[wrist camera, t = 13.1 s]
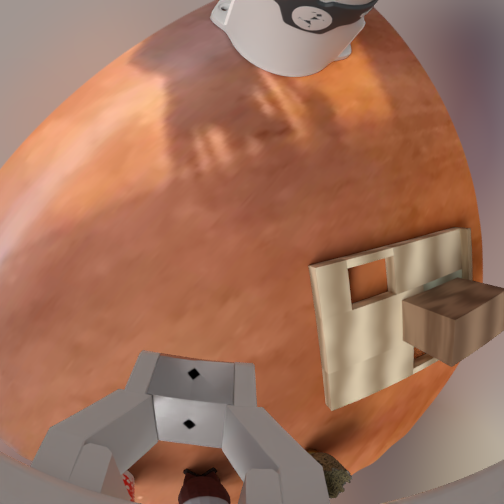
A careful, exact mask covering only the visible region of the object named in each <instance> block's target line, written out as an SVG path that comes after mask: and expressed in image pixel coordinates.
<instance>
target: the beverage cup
mask: <svg viewBox="0 0 504 504" xmlns="http://www.w3.org/2000/svg"><path fill="white" fill-rule="evenodd" d="M121 477H122V479H123V481H124V484H125V486H126V488H127V491H128V493H129V495H130V497H131V500H130V501H132V502H134V477H133V475H132V474H131V473H130V472H129V471H127V470H126V471H125V472H124V473H123V474H122V475H121Z"/></svg>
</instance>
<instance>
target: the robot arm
mask: <svg viewBox="0 0 504 504" xmlns="http://www.w3.org/2000/svg"><path fill="white" fill-rule="evenodd" d="M377 1H378V0H219V2H218V3H217V5H216V6H215V8H214V9H213V11H212V13H211V16H210V18H211V20H212V22H213V23H214V24H216V25H217V26H218V27H220V28H221V29H222V30H224V31H225V32H226V33H227V35H228V36H229V38H230V40H231V42H232V44H233V45H234V47H235V48H236V49H237V51H238V52H239V53H240V54H241V55H242V56H243V57H244V58H245V59H247V60H248V61H249V62H251V63H252V64H254V65H255V66H257V67H259V68H261V69H263V70H266V71H268V72H271V73H274V74H278V75H282V76H289V77H301V76H308V75H311V74H314V73H317V72H319V71H320V70H322V69H323V68H325V67H326V66H327V65H328V64H329V63H331V62H333V61H337V60H342V59H346V58H347V57H348V56H349V55H350V54H351V45H350V43H351V42H352V40H353V39H354V38H355V37H356V36H357V35H358V33H359V32H360V31H361V30H362V29H363V28H364V26H365V23H366V22H365V21H364V15H366V14H367V13H368V12H369V11H370V10H371V9H372V8H373V7H374V5H375V3H376V2H377ZM222 9H225V10H227V11H223V10H222ZM158 440H162V441H169V442H176V443H185V444H193V445H200V446H207V447H215V448H222V450H223V452H224V454H225V455H226V457H227V458H228V460H229V461H230V463H231V464H232V466H233V467H234V469H235V470H236V472H237V473H238V475H239V476H240V478H241V479H242V481H243V482H244V483H243V487H242V490H241V494H240V498H239V501H238V504H330V500H329V495H328V491H327V486H326V481H325V477H324V472H323V467H322V466H321V465H320V464H319V463H318V462H317V461H316V460H315V459H314V458H313V457H312V456H311V455H310V454H309V453H308V452H307V451H306V450H305V449H303V448H302V447H301V446H300V445H299V444H298V443H297V442H296V441H295V440H294V439H293V438H292V437H291V436H290V435H289V434H288V433H287V432H286V431H285V430H284V429H283V428H282V427H281V426H280V425H279V424H278V423H277V422H276V421H275V420H274V419H273V418H272V416H271V415H270V414H269V413H268V412H267V411H266V410H265V409H264V408H263V407H257V398H256V382H255V366H254V364H253V363H240V362H235V363H234V362H222V361H212V360H203V359H195V358H189V357H182V356H176V355H170V354H164V353H161V354H160V353H156V352H151V351H145V350H143V351H142V352H141V353H140V354H139V356H138V359H137V361H136V363H135V366H134V368H133V370H132V373H131V375H130V377H129V380H128V382H127V385H126V387H125V389H124V390H122V389H118V390H116V391H114V392H113V393H111V394H109V395H108V396H106V397H104V398H102V399H101V400H99V401H97V402H95V403H94V404H92V405H90V406H88V407H86V408H85V409H83V410H81V411H79V412H78V413H76V414H74V415H72V416H70V417H69V418H67V419H65V420H63V421H61V422H59V423H58V424H56V425H54V426H52V427H50V429H49V430H48V432H47V434H46V436H45V438H44V440H43V442H42V444H41V446H40V448H39V450H38V452H37V454H36V456H35V458H34V460H33V462H32V464H31V466H28V465H25V464H24V463H22V462H19V461H17V460H15V459H14V458H11V457H10V456H8V455H6V454H4V453H2V452H0V504H141V503H136V502H132V501H130V500H131V497H130V495H129V493H128V491H127V488H126V486H125V484H124V481H123V479H122V477H121V475H122V474H123V473H124V472H125V471H126V470H128V469H129V468H130V467H131V466H132V465H133V464H134V463H135V462H137V461H138V460H139V459H140V458H141V457H142V456H143V455H144V454H145V453H146V452H147V451H149V450H150V449H151V448H152V447H153V446H154V445H155V444H156V443H157V442H158ZM380 504H504V460H502V461H500V462H498V463H496V464H494V465H492V466H490V467H488V468H485V469H483V470H481V471H479V472H476V473H474V474H472V475H469V476H467V477H464V478H462V479H459V480H457V481H454V482H452V483H449V484H446V485H443V486H440V487H438V488H435V489H432V490H429V491H425V492H422V493H419V494H415V495H412V496H408V497H405V498H401V499H397V500H393V501H389V502H385V503H380Z"/></svg>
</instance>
